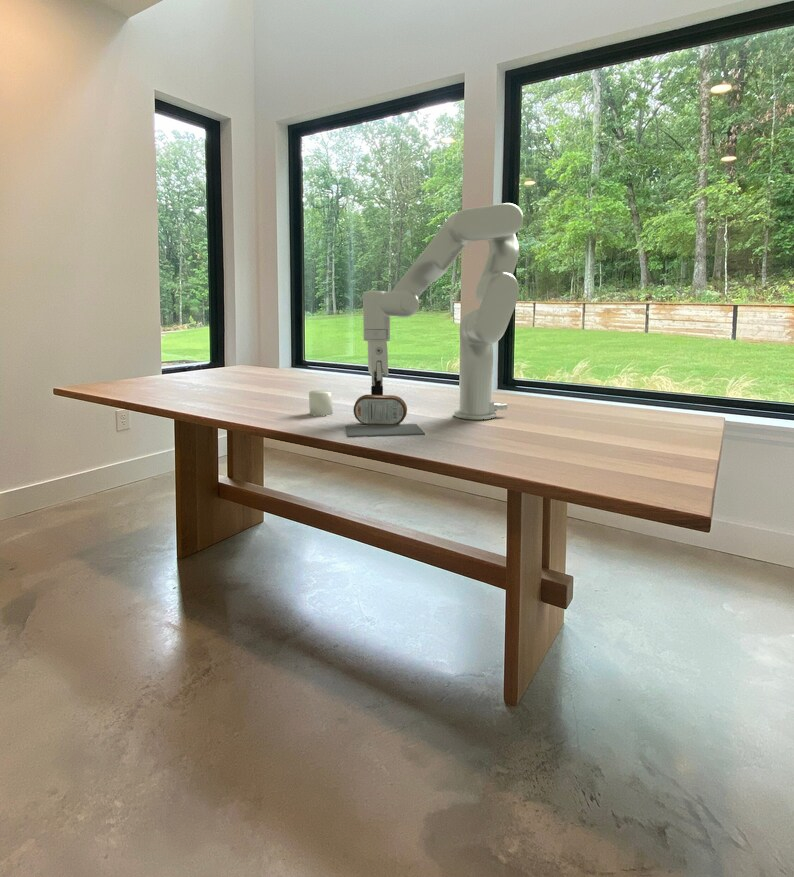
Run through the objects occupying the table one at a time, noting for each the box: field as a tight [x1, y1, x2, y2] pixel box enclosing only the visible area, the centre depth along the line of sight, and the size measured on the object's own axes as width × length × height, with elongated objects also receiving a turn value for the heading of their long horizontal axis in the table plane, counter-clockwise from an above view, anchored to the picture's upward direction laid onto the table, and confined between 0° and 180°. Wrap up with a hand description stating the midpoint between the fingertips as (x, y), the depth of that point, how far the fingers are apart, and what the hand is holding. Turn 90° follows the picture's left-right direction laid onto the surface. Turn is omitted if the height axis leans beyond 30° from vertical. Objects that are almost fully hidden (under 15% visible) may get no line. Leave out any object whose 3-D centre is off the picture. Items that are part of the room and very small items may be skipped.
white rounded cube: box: [308, 389, 334, 417], centre depth 181 cm, size 7×7×7 cm
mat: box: [344, 423, 426, 438], centre depth 158 cm, size 20×12×1 cm, turn 99°
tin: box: [353, 394, 408, 425], centre depth 166 cm, size 15×3×8 cm, turn 84°
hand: (377, 399), depth 172 cm, fingers closed
